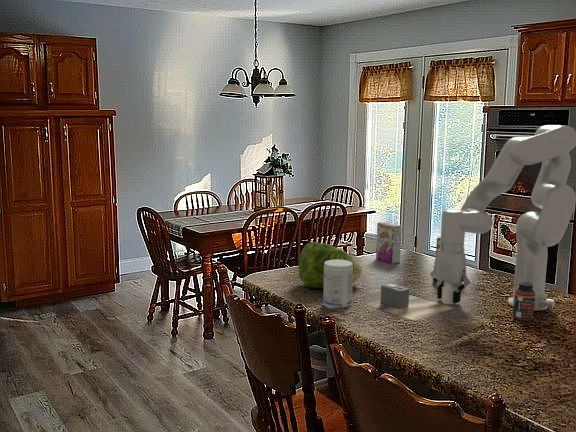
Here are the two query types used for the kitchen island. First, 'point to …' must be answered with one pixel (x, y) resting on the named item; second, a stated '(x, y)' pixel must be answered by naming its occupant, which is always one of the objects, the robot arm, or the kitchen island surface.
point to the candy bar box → (388, 242)
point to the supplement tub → (338, 283)
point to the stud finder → (394, 296)
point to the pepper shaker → (447, 293)
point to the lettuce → (321, 263)
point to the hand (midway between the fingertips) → (448, 299)
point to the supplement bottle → (524, 302)
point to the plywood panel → (414, 308)
